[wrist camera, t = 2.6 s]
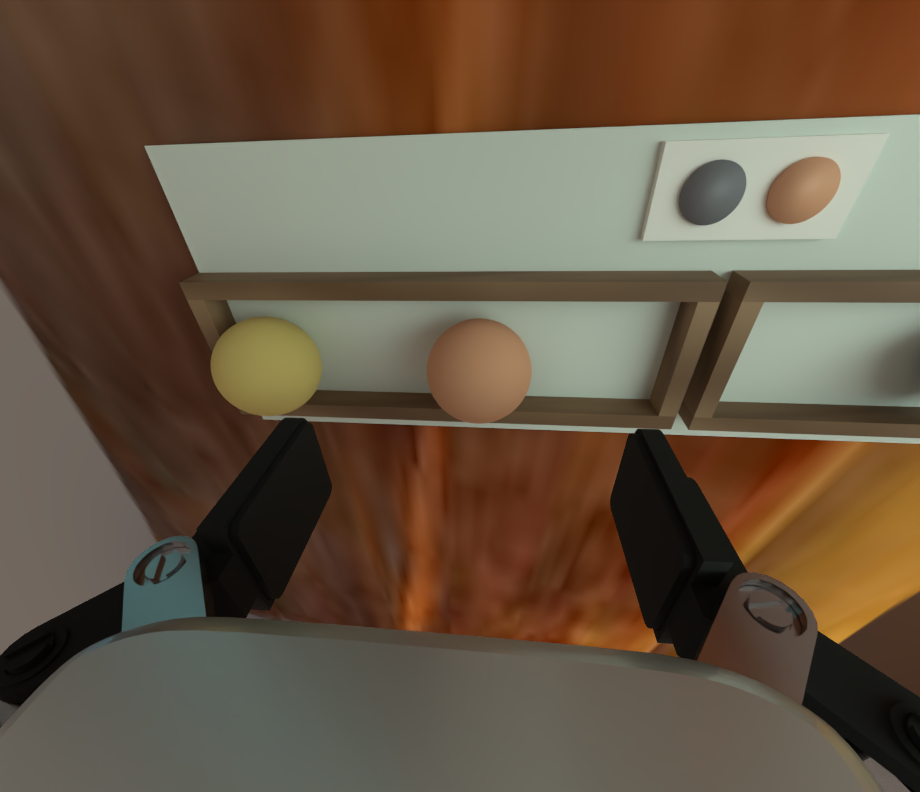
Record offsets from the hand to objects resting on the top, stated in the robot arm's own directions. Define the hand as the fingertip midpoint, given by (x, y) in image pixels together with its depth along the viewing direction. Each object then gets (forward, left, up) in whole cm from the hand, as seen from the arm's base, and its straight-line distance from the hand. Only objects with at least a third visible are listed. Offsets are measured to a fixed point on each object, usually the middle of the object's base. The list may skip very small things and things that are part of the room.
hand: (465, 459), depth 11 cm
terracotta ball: (-1, 0, -4) cm, 4 cm away
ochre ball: (-1, -8, -4) cm, 9 cm away
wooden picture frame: (-1, -1, -6) cm, 6 cm away
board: (-2, +5, -7) cm, 9 cm away
